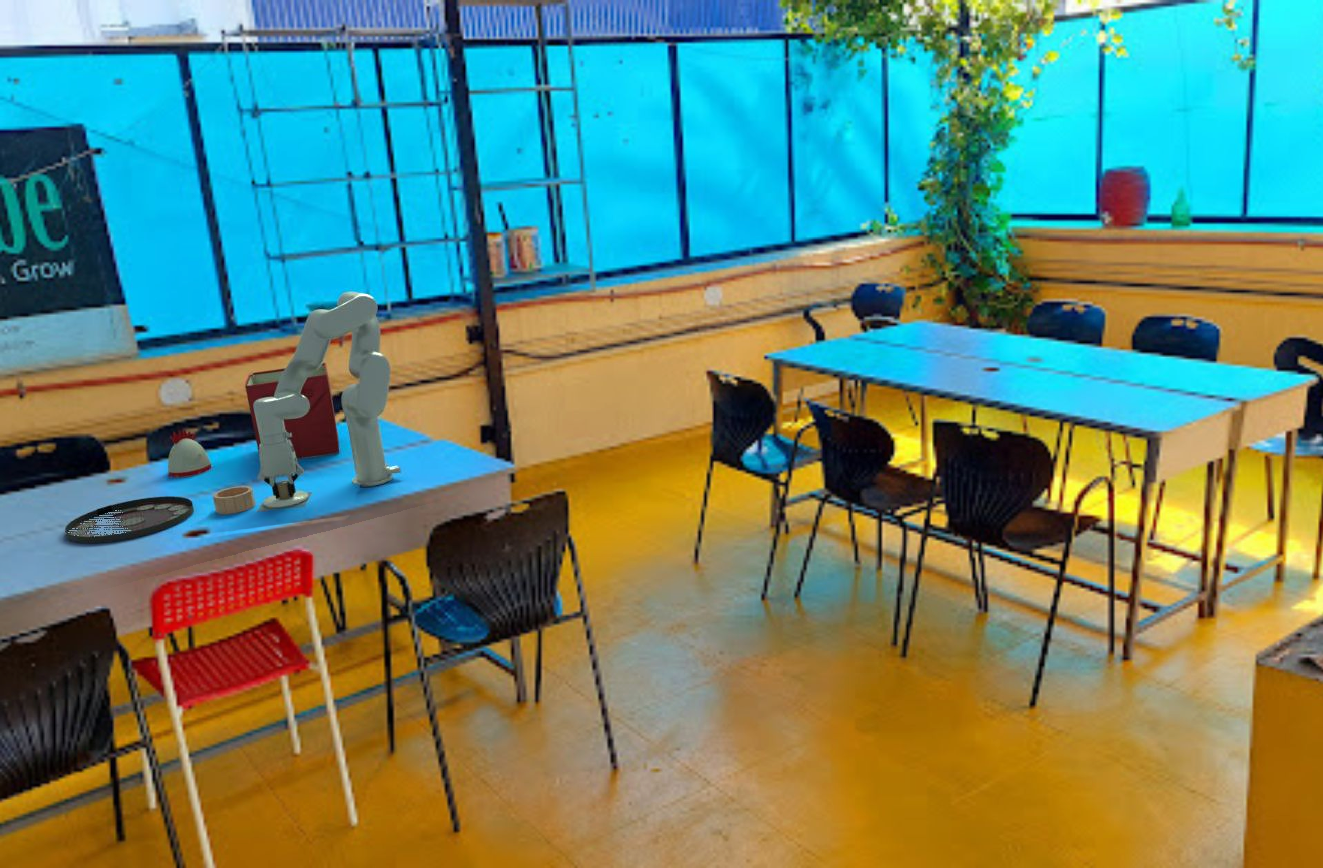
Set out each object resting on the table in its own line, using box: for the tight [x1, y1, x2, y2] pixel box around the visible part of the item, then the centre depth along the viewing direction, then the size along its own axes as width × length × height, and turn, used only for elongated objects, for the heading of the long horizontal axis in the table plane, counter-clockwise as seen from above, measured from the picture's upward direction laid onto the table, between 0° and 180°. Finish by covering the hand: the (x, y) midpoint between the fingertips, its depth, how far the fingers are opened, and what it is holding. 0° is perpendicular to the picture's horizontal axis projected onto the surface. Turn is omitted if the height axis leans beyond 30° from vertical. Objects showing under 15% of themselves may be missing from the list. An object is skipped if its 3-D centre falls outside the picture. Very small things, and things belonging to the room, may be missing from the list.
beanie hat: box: [167, 429, 212, 478], centre depth 381 cm, size 14×14×15 cm
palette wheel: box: [64, 496, 195, 544], centre depth 331 cm, size 35×35×3 cm
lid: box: [262, 480, 308, 508], centre depth 333 cm, size 13×13×6 cm
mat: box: [256, 491, 313, 513], centre depth 334 cm, size 14×14×1 cm
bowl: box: [212, 485, 256, 515], centre depth 332 cm, size 11×11×6 cm
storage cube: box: [244, 362, 340, 460], centre depth 392 cm, size 32×28×29 cm
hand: (285, 495), depth 334 cm, fingers closed on lid, 3 cm apart
